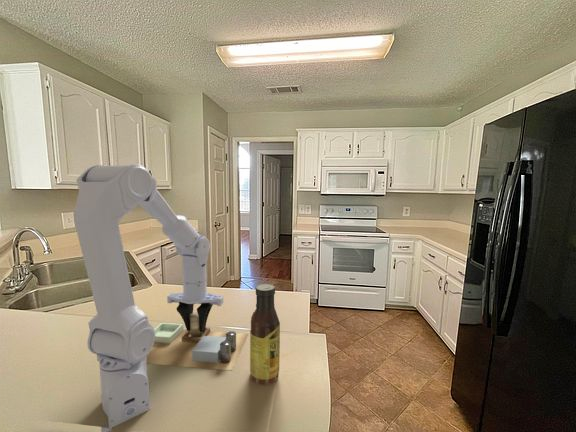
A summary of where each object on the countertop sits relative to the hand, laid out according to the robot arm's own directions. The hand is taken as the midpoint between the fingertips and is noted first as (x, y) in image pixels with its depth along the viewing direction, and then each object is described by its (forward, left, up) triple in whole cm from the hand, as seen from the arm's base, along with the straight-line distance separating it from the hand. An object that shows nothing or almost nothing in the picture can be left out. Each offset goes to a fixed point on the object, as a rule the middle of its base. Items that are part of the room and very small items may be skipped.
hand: (196, 329), depth 67 cm
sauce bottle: (-23, -7, -3) cm, 24 cm away
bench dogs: (-12, -3, -2) cm, 13 cm away
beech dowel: (0, 0, -2) cm, 2 cm away
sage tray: (+5, +6, -2) cm, 8 cm away
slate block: (-9, 0, -2) cm, 9 cm away
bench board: (-4, +2, -3) cm, 5 cm away
